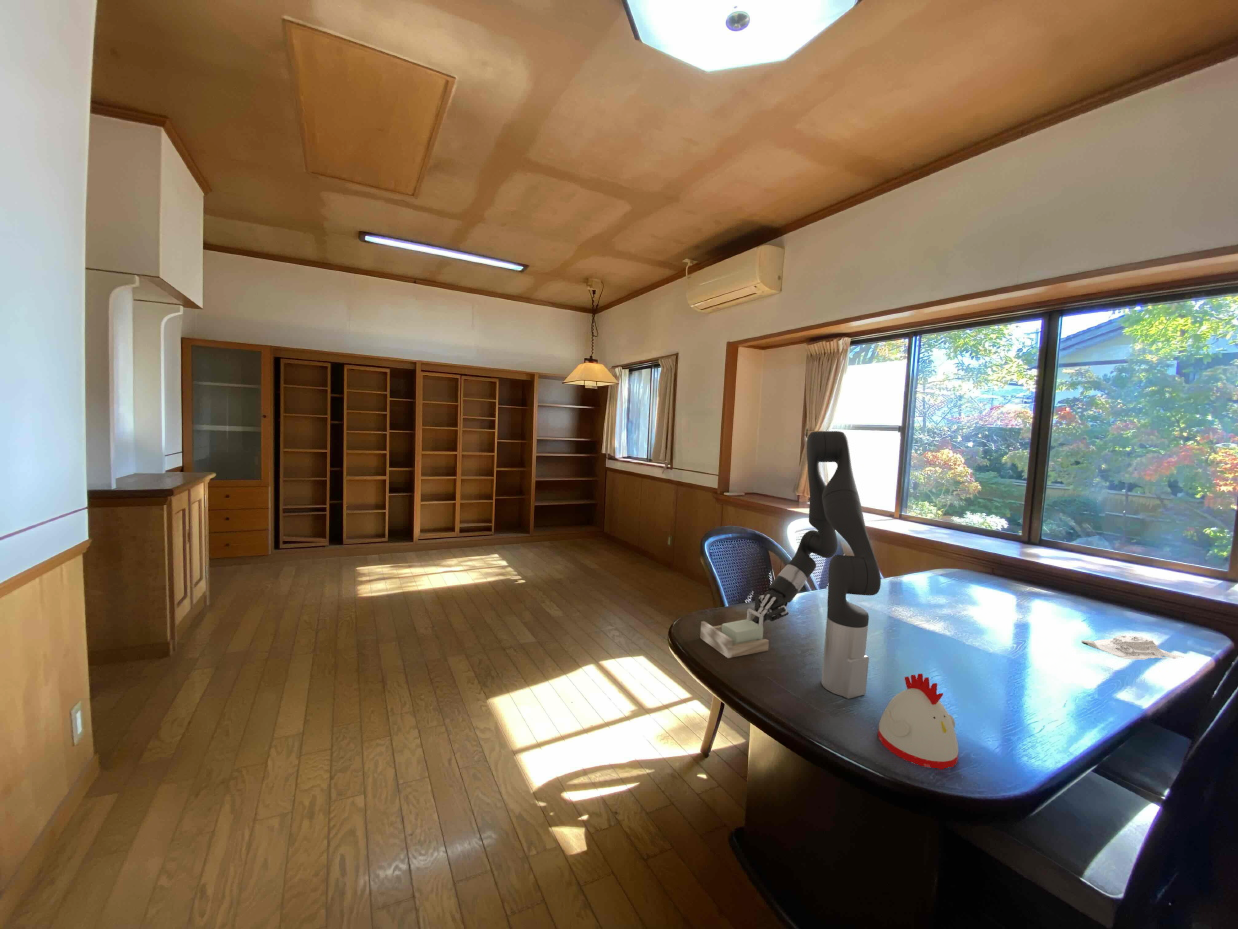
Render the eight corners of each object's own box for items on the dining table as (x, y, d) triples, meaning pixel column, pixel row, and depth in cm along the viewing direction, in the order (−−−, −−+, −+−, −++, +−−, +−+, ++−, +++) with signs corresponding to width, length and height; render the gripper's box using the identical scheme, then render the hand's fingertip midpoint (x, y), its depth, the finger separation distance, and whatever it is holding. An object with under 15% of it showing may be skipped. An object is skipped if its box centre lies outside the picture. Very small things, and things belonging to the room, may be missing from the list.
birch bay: (768, 650, 140) (769, 633, 140) (727, 658, 134) (729, 640, 134) (738, 631, 152) (739, 616, 152) (700, 638, 146) (701, 621, 146)
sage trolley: (763, 647, 142) (766, 616, 141) (737, 654, 137) (739, 621, 136) (745, 637, 148) (747, 606, 148) (719, 642, 144) (721, 611, 143)
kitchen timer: (917, 774, 91) (925, 697, 90) (863, 729, 105) (869, 662, 103) (974, 764, 95) (983, 690, 94) (915, 722, 108) (921, 656, 107)
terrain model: (1076, 648, 157) (1078, 633, 157) (1115, 636, 166) (1116, 622, 166) (1147, 673, 142) (1149, 656, 142) (1186, 658, 151) (1188, 643, 150)
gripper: (767, 569, 155) (733, 611, 151) (798, 582, 143) (762, 628, 139) (779, 584, 157) (746, 625, 153) (810, 598, 145) (775, 643, 141)
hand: (753, 626), depth 146 cm, fingers closed
